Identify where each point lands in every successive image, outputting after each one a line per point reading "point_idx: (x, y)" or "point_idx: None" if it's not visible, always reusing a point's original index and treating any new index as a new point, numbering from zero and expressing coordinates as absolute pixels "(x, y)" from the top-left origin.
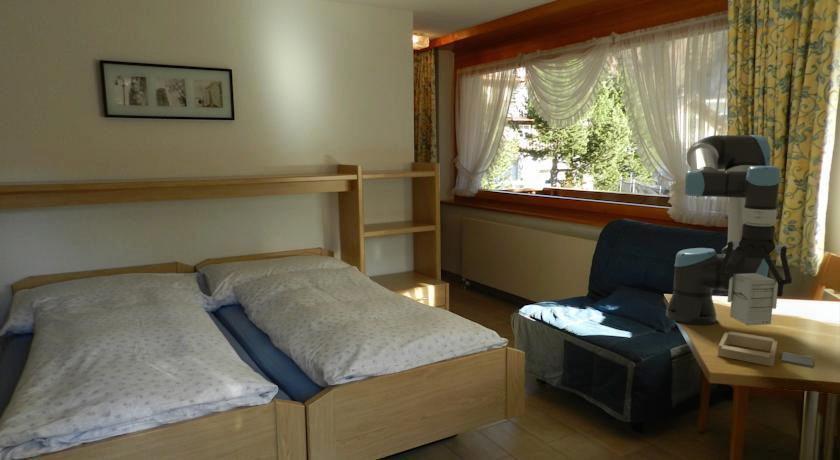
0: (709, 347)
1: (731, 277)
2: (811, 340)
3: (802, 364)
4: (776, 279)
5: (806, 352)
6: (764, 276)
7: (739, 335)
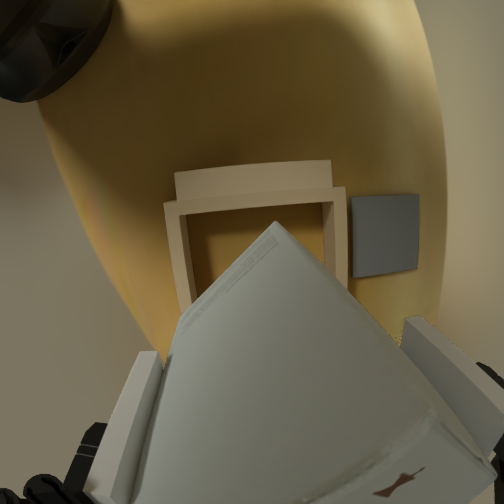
0: (152, 287)
1: (92, 496)
2: (385, 24)
3: (397, 270)
4: (497, 491)
5: (398, 140)
6: (464, 484)
7: (217, 207)
